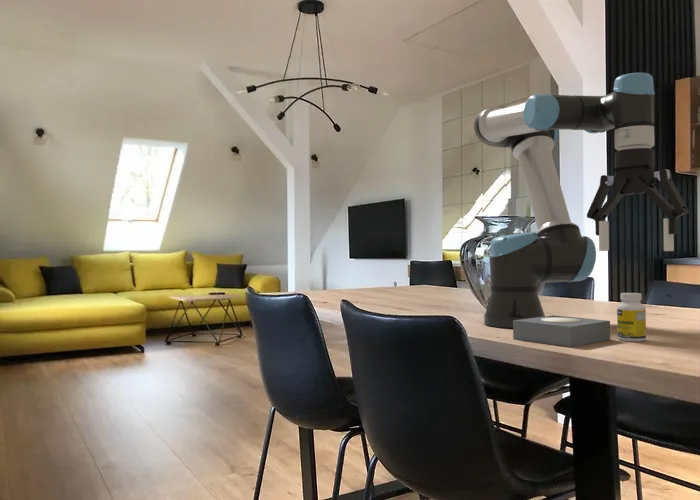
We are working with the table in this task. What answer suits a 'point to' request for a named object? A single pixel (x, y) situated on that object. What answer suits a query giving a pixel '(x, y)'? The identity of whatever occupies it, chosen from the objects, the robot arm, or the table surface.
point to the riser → (561, 330)
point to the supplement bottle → (631, 318)
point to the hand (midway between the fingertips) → (635, 251)
